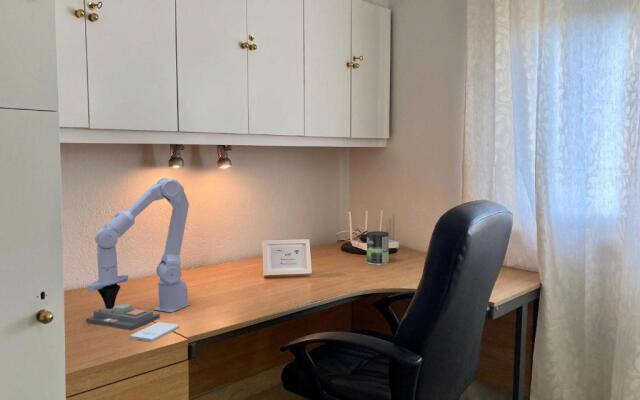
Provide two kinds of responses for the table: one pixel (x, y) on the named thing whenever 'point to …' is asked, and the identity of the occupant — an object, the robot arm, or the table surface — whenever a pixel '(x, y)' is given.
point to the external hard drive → (154, 332)
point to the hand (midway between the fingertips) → (109, 308)
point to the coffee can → (377, 248)
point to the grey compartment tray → (122, 319)
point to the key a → (107, 310)
